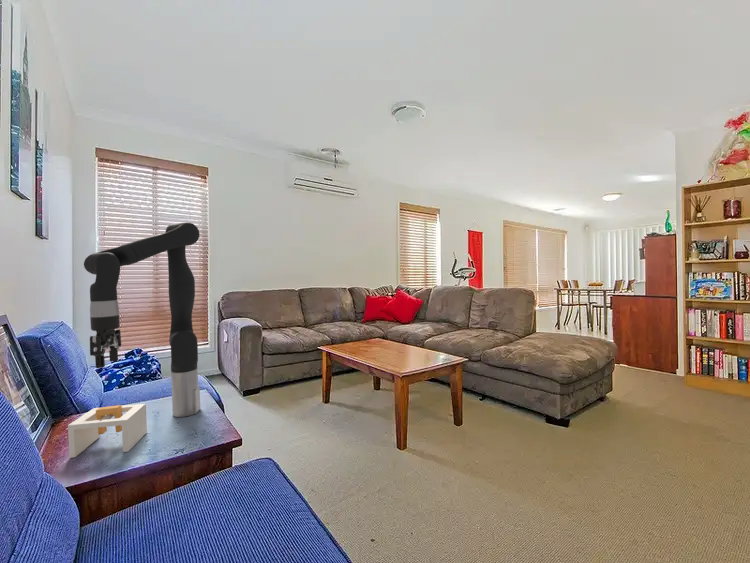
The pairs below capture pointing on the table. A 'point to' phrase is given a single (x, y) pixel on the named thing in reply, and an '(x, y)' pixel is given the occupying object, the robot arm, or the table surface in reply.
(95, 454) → the table surface
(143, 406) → the open-topped stand
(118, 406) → the orange u-shaped bracket
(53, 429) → the table surface
